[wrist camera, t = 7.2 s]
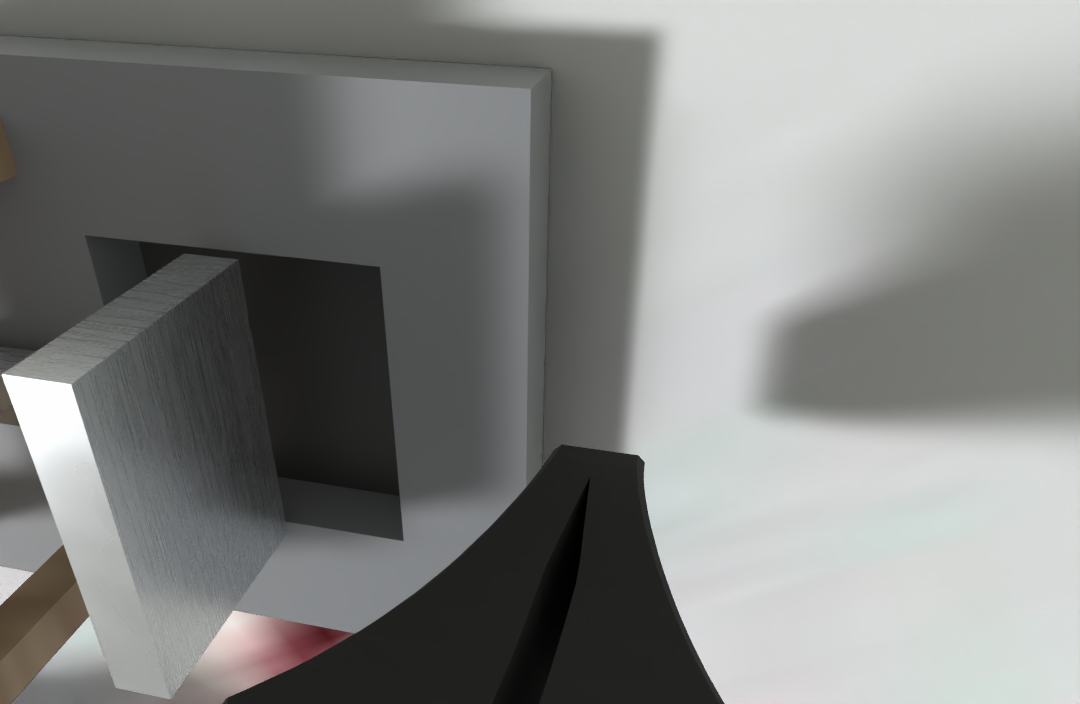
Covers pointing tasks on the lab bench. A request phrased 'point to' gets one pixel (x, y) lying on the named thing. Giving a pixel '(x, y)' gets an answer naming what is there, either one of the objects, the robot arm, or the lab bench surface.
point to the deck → (303, 281)
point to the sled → (154, 463)
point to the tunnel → (35, 590)
